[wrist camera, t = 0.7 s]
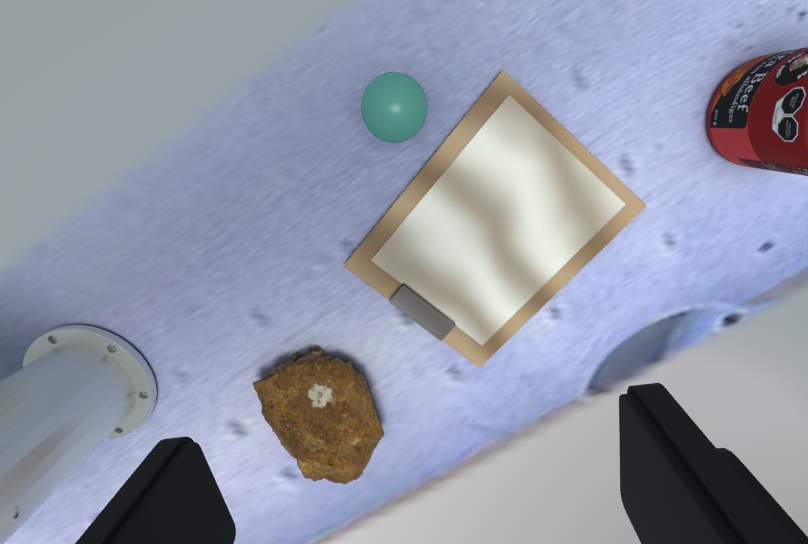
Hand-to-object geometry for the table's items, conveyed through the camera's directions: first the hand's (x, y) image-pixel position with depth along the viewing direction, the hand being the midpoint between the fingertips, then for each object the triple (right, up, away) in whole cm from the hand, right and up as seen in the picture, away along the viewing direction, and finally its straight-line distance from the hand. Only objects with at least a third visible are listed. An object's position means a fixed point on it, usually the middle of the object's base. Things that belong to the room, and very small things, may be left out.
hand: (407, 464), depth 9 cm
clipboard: (+7, +7, +27) cm, 29 cm away
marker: (0, +17, +24) cm, 29 cm away
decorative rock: (-8, -10, +34) cm, 36 cm away
